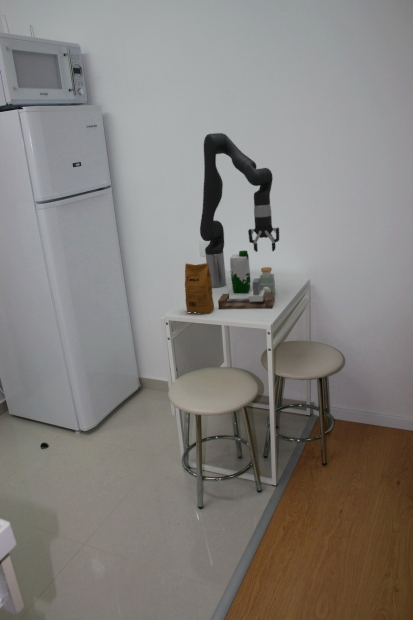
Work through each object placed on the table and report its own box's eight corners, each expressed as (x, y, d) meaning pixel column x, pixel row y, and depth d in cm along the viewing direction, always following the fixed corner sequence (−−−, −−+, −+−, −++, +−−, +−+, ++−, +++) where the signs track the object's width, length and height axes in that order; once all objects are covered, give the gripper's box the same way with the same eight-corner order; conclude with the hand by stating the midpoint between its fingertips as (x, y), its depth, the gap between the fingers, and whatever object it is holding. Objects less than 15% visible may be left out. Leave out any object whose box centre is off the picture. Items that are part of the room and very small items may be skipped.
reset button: (260, 278, 230) (260, 270, 229) (262, 275, 235) (261, 267, 233) (271, 278, 229) (270, 269, 228) (272, 275, 233) (272, 267, 232)
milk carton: (249, 293, 242) (246, 253, 235) (231, 294, 244) (228, 254, 237) (252, 288, 250) (249, 249, 243) (234, 289, 252) (230, 250, 245)
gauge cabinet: (260, 299, 232) (258, 278, 229) (262, 293, 239) (261, 273, 236) (273, 299, 230) (272, 278, 227) (275, 293, 238) (274, 273, 235)
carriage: (249, 301, 221) (248, 283, 218) (252, 295, 228) (250, 277, 225) (262, 301, 219) (261, 282, 217) (265, 295, 227) (264, 277, 224)
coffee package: (191, 307, 231) (186, 260, 224) (217, 307, 227) (212, 260, 220) (183, 314, 222) (178, 266, 215) (210, 315, 218) (205, 266, 211)
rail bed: (218, 309, 224) (218, 300, 223) (223, 301, 234) (222, 293, 232) (272, 308, 218) (271, 299, 217) (274, 301, 228) (274, 292, 226)
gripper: (245, 217, 221) (248, 253, 226) (278, 215, 217) (279, 252, 223) (248, 214, 228) (250, 250, 233) (279, 212, 224) (281, 248, 229)
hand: (264, 251), depth 228 cm, fingers open, 7 cm apart
